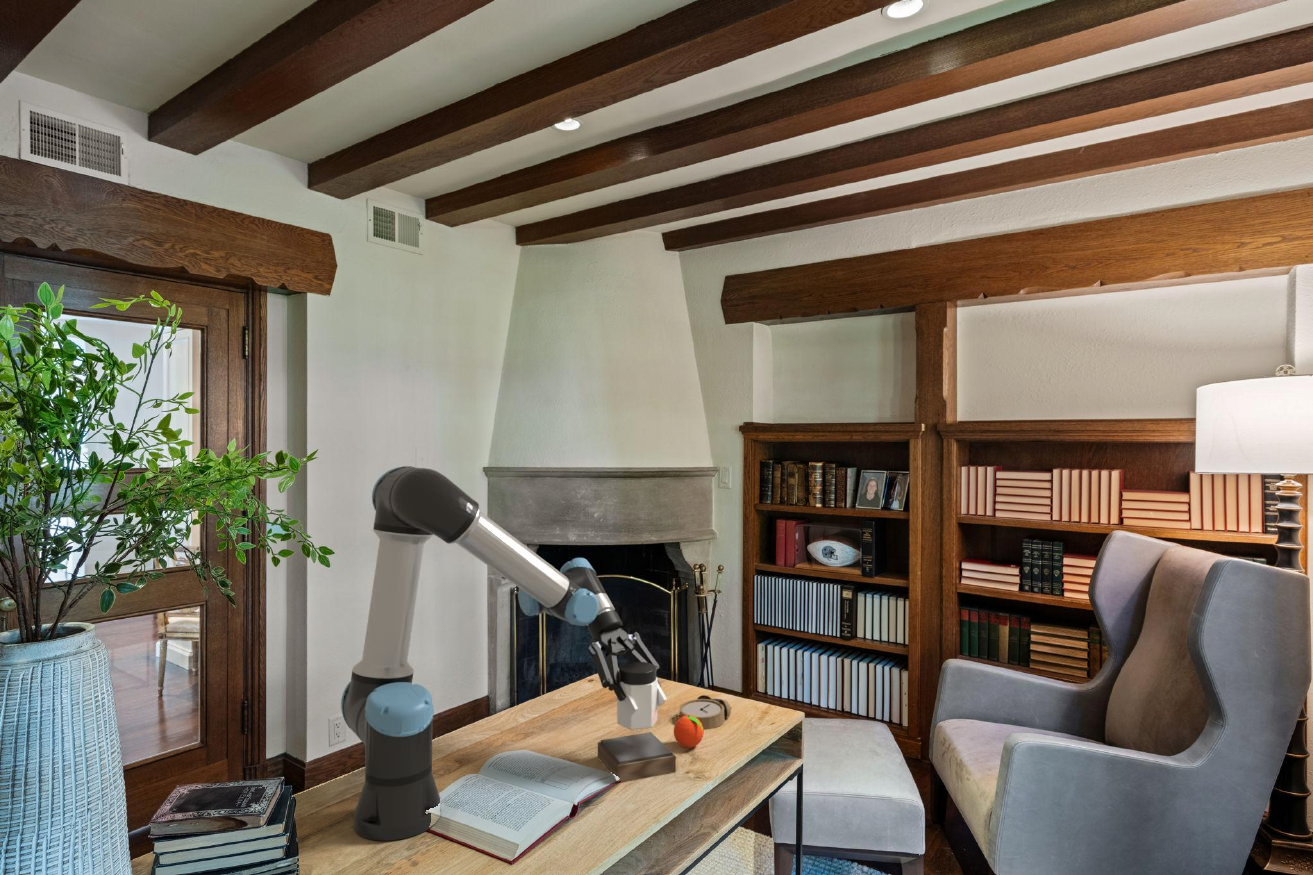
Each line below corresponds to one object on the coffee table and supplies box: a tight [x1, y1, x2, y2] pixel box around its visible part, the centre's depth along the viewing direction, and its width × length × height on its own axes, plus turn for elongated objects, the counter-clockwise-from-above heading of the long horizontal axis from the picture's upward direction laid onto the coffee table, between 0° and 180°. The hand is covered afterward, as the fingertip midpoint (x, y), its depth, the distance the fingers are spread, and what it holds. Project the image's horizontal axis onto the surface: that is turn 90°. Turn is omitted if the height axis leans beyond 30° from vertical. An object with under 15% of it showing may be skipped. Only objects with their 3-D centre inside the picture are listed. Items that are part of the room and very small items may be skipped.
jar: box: [616, 661, 659, 731], centre depth 160 cm, size 9×8×12 cm
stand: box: [597, 731, 677, 783], centre depth 160 cm, size 13×13×4 cm
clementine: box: [673, 715, 705, 749], centre depth 169 cm, size 8×7×7 cm
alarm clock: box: [676, 694, 732, 730], centre depth 187 cm, size 11×5×15 cm
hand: (648, 707), depth 158 cm, fingers closed on jar, 8 cm apart
